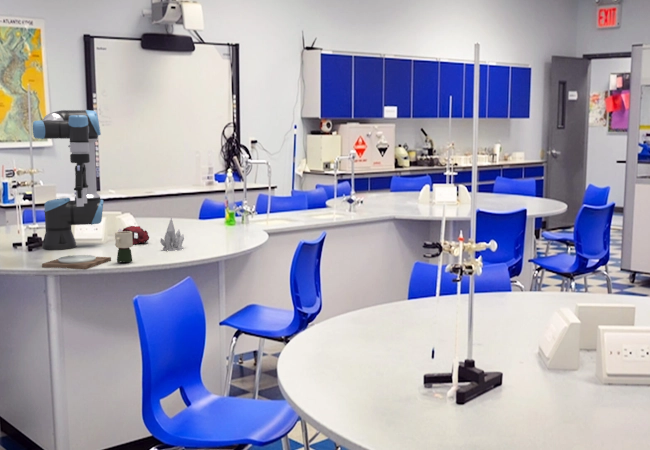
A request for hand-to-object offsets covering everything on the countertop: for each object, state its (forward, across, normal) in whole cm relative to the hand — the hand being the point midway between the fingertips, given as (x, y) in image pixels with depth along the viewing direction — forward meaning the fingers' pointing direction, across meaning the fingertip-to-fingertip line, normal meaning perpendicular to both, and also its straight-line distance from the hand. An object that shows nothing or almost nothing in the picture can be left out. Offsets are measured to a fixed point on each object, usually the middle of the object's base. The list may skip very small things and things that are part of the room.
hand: (82, 205), depth 308 cm
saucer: (+23, -3, -3) cm, 24 cm away
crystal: (+25, -34, +37) cm, 56 cm away
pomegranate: (+25, -55, +18) cm, 63 cm away
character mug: (+25, -1, +16) cm, 30 cm away
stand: (+25, -3, -3) cm, 25 cm away
